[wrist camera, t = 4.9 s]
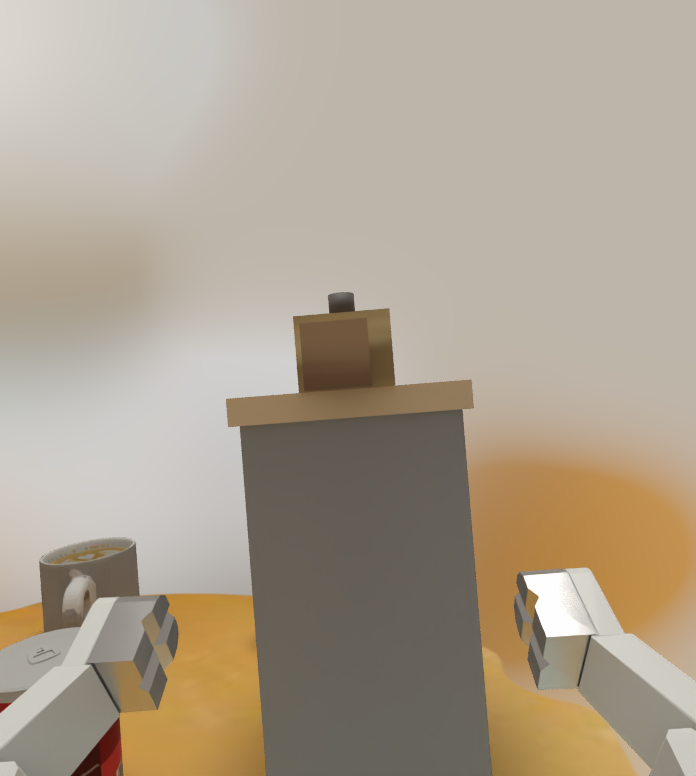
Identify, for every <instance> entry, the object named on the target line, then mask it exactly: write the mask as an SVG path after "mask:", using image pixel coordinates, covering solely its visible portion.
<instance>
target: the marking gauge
mask: <svg viewBox="0 0 696 776" xmlns="http://www.w3.org/2000/svg"><path fill="white" fill-rule="evenodd" d="M328 300H329V314H318V315H306V316H294V317H293V321H294V334H295V346H296V358H297V359H296V360H297V372H298V385H299V393H309V392H321V391H334V390H347V389H359V388H372V387H385V386H395V376H394V364H393V352H392V339H391V325H390V313H389V309H377V310H365V311H355V307H354V294H353V293H349V292H341V293H334V294H330V295H328Z"/></svg>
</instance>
